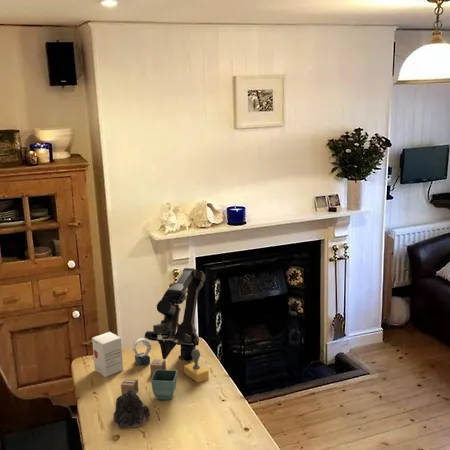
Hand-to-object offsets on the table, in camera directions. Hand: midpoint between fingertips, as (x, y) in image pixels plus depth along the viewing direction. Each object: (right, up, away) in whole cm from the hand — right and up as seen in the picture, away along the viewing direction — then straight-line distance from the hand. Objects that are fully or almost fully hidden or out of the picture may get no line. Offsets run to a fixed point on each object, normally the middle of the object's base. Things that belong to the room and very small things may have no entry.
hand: (164, 359), depth 222 cm
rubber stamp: (+12, -10, +12) cm, 19 cm away
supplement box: (-25, -9, +18) cm, 32 cm away
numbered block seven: (-4, -9, +15) cm, 18 cm away
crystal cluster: (-10, -18, -18) cm, 27 cm away
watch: (-12, -7, +24) cm, 28 cm away
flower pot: (+1, -14, -3) cm, 14 cm away
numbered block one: (-13, -13, 0) cm, 19 cm away
